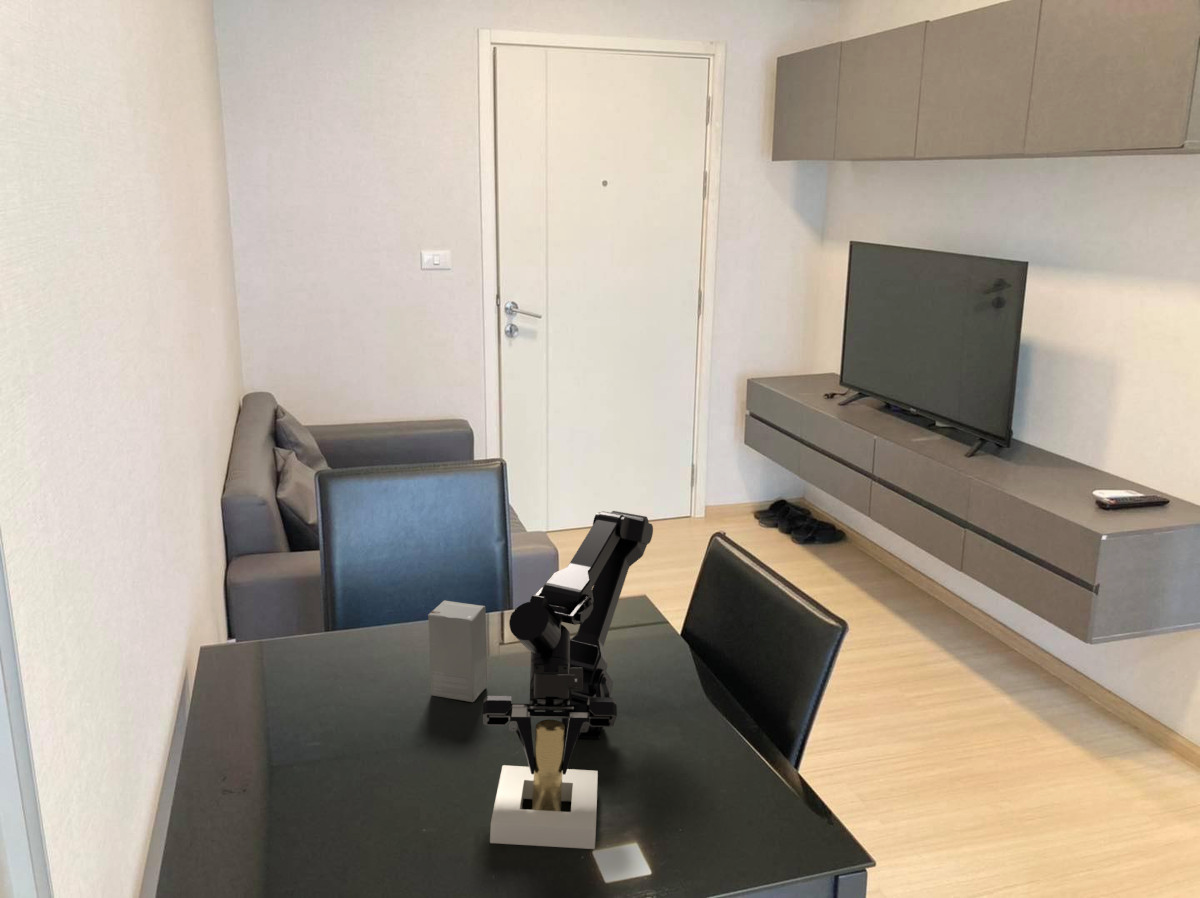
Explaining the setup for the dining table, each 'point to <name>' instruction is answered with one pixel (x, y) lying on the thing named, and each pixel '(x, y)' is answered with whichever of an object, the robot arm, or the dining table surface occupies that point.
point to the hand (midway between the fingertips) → (548, 773)
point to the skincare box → (458, 650)
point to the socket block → (545, 825)
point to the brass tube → (548, 765)
